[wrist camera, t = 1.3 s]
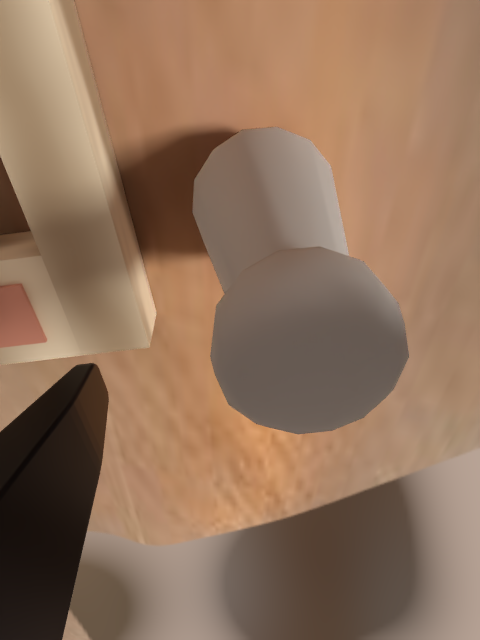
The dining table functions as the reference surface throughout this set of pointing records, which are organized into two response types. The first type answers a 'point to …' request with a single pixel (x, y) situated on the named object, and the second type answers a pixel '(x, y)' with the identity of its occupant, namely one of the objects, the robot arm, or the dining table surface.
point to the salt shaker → (292, 289)
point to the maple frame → (63, 199)
